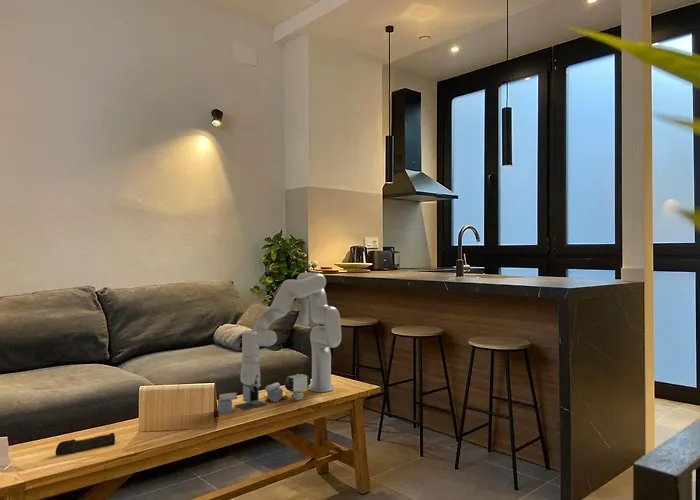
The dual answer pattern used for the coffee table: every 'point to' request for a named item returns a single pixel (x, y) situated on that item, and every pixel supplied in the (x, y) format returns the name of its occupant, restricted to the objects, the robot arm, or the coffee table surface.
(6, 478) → the coffee table surface
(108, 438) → the hand tool
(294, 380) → the pneumatic valve
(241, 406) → the pad
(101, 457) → the coffee table surface
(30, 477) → the coffee table surface
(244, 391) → the block
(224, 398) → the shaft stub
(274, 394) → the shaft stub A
